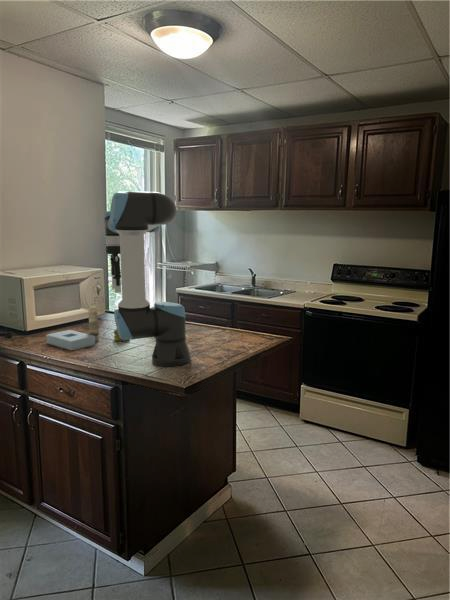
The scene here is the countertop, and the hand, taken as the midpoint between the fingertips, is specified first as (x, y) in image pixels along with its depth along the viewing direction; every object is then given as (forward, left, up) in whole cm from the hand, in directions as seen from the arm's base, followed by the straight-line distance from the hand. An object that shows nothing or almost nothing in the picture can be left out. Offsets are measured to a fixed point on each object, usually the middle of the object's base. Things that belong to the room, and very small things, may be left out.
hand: (116, 290), depth 208 cm
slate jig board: (-14, +17, -23) cm, 32 cm away
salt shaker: (-3, -3, -23) cm, 24 cm away
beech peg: (-7, +9, -23) cm, 26 cm away
